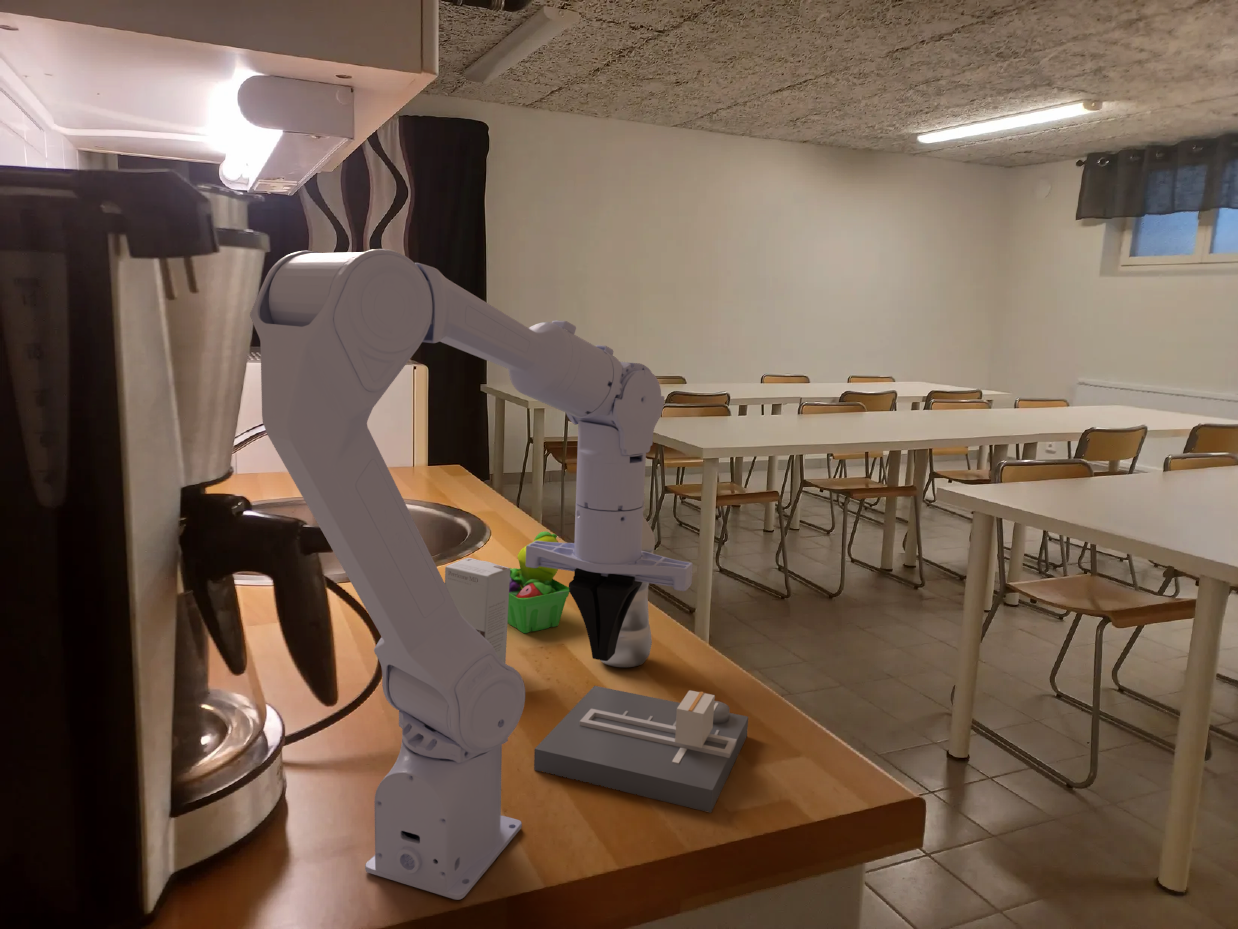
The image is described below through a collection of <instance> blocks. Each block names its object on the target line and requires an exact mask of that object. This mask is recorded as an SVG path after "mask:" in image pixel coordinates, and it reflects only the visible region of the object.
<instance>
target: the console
mask: <svg viewBox="0 0 1238 929" xmlns="http://www.w3.org/2000/svg"><path fill="white" fill-rule="evenodd" d="M680 703H681V702H678V701H672V700H668V699H663V698H657V697H653V696H652V697H651V696H648V695H643V694H638V693H634V692H633V693H632V692H628V691H624V690H618V689H612V688H608V687H603V686H598V685H594V686H593V687H591V689H590V690H589V691H588V692H587V693H586V694H585V695H584V696H583V697H582V698H580V700H579V701H578V702H577V703H576V704H575V705H574V706H573V708H571V709H570V711H569V712H568V713H567V714H566V715H565V716H564V717H563V718H562V719H561V720H560V722H558V724H557V725H555V727H554V728H553V729H552V730H551V731H550V732H548V734H547V735H546V736H545V737H544V738H543V739H542V740H541V742H540V743H538V745H537V746H536V747H535V748H534V751H533V752H534V755H533V756H534V758H533V759H534V760H533V762H534V764H533V770H534V771H537V772H541V771H543V772H542V773H545V772H546V773H545V774H549V773H551V775H554V774H555V775H554V776H558V777H562V776H563V778H566V777H567V779H570V780H574V779H576V780H575V781H578V780H580V781H579V782H582V781H583V783H586V782H589V783H588V784H591V783H592V784H591V785H595V786H599V785H601V786H600V787H603V786H604V788H607V787H608V789H611V788H612V790H615V789H616V790H615V791H619V790H620V791H621V792H625V793H628V794H631V795H632V794H633V795H636V794H637V795H636V796H641V797H645V798H647V799H648V798H649V799H652V800H657V801H661V802H666V803H669V804H674V805H678V806H682V807H686V808H690V809H695V810H699V811H703V812H707V813H712V812H713V809H714V807H715V805H716V803H717V800H718V798H719V797H720V795H721V792H722V790H723V788H724V787H725V784H726V782H727V780H728V777H729V776H730V772H732V769H733V767H734V764H735V763H736V760H737V758H738V756H739V754H740V752H741V750H742V748H743V746H744V743H745V741H746V739H747V737H748V727H749V716H747V715H742V714H738V713H737V714H736V713H733V712H732V713H731V712H730V707H729V705H727V704H726V703H724V702H723V701H719V700H714V714H713V728H712V730H711V732H710V733H709V735H708V737H707V739H706V741H705V742H704V744H703V746H702V748H699V747H694V746H690V745H685V744H681V743H676V742H675V734H676V716H677V708H678V706H679V705H680Z"/></svg>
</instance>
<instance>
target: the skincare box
mask: <svg viewBox="0 0 1238 929" xmlns="http://www.w3.org/2000/svg"><path fill="white" fill-rule="evenodd" d="M510 568H511V567H507V566H504V565H500V564H496V563H494V562H490V561H488V560H487V561H486V560H480V559H475V558H472V557H465V558H463V559H461V560H458V561H455V562H453V563H450V564H448V565H446V566H445V567H444V583H445V585H446V587H447V589H448V591H449V593H450V595H451V597H452V599H453V601H454V603H455V605H456V607H457V609H458V611H459V613H460V615H461V616H462V617H463V618H464V619H465V620H466V621H467V622H468V623H469V624H470V625H471V626H472V627H474V628H475V629H476V630H477V631H478V632H479V633H480V634H481V635H482V636H483V637H484V638H485V639H486V640H487V641H488V642H489V643H490V644H491V645H492V646H493V647H494V650H495V652H496V654H497V656H498V657H499V659H500V660H501V661H502V662H503V663H505V664H507V663H506V661H507V660H506V658H507V642H508V640H507V638H508V601H509V582H510Z"/></svg>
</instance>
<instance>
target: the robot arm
mask: <svg viewBox="0 0 1238 929" xmlns="http://www.w3.org/2000/svg"><path fill="white" fill-rule="evenodd" d="M249 316H250V320H251V322H252V324H253V326H254V328H255V331H256V333H257V335H258V338H259V341H260V383H261V384H260V385H261V387H260V388H261V390H260V391H261V419H262V423H263V426H264V429H265V432H266V434H267V436H268V438H269V440H270V442H271V443H272V446H273V447H274V449H275V451H276V452H277V454H278V457H279V458H280V459H281V461H282V463H283V464H284V466H285V468H286V470H287V472H288V474H289V476H290V477H291V479H292V481H293V483H294V484H295V486H296V488H297V489H298V491H299V493H300V495H301V497H302V498H303V501H305V504H306V505H307V507H308V509H309V511H310V513H311V514H312V516H313V518H314V519H315V522H316V523H317V525H318V527H319V528H320V531H321V532H322V533H323V535H324V537H325V538H326V541H327V542H328V545H329V546H330V548H331V550H332V551H333V553H334V555H335V557H336V558H337V561H338V562H339V565H341V567H342V570H343V571H344V572H345V574H346V576H347V577H348V579H349V580H348V581H350V583H351V585H352V586H353V589H354V591H355V592H356V593H357V595H358V597H359V599H360V601H361V603H362V604H363V606H364V608H365V610H366V611H367V613H368V615H369V617H370V619H371V620H372V623H373V624H374V626H375V628H376V629H377V631H378V633H379V635H380V636H381V637H380V639H379V640H378V641H377V644H376V645H375V647H374V648H373V652H374V654H375V656H376V657H377V660H378V661H379V664H380V666H381V668H380V669H381V676H382V677H381V678H382V680H381V682H382V692H383V695H384V697H385V699H386V701H387V702H388V704H389V705H390V706H391V707H393V708H394V709H395V710H397V711H398V726H399V727H400V729H401V730H402V732H401V744H400V751H399V754H398V755H397V759H396V761H395V763H394V764H393V765H392V767H391V769H390V770H389V772H387V774H386V775H385V776H384V777H383V779H382V780H381V781H380V782H379V784H378V786H377V788H376V790H375V795H374V855H373V856H372V857H370V859H369V860H367V862H366V863H365V864H364V865H365V866H364V870H365V872H366V873H368V874H371V875H375V876H378V877H381V878H385V879H387V880H391V881H394V882H398V883H400V884H403V885H407V886H410V887H412V888H413V887H414V888H416V889H420V890H423V891H426V892H428V893H429V892H430V893H433V894H436V895H439V896H443V897H445V898H449V899H452V900H456V901H457V900H462V899H463V898H465V897H466V896H467V895H468V893H469V892H470V890H472V888H473V887H474V886H475V885H476V884H477V882H478V881H479V880H480V879H481V877H482V876H483V875H484V874H485V873H486V872H487V870H488V869H489V868H490V867H491V866H492V864H493V863H494V862H495V861H496V860H497V858H498V857H499V856H500V854H501V853H502V852H503V851H504V849H505V848H507V846H508V845H509V844H510V842H511V841H512V840H513V839H514V837H516V835H517V834H518V832H520V830H522V825H523V824H522V821H521V820H519V819H516V818H513V817H510V816H505V815H503V814H502V813H501V812H502V766H503V765H502V764H503V763H502V758H503V757H502V755H503V754H502V751H503V748H502V747H503V744H506V743H507V742H508V741H509V737H510V736H511V735H512V734H513V732H514V730H515V729H516V727H517V726H518V724H519V721H520V720H521V717H522V715H523V711H524V707H525V703H526V702H525V701H526V687H525V682H524V679H523V678H522V676H521V674H520V673H519V671H518V670H516V669H515V667H512V666H511V665H509V664H507V663H503V662H502V661H501V660H500V659H499V657H498V656H497V654H496V652H495V650H494V647H493V646H492V645H491V644H490V643H489V642H488V641H487V640H486V639H485V638H484V637H483V636H482V635H481V634H480V633H479V632H478V631H477V630H476V629H475V628H474V627H472V626H471V625H470V624H469V623H468V622H467V621H466V620H465V619H464V618H463V617H462V616H461V615H460V613H459V611H458V609H457V607H456V605H455V603H454V601H453V599H452V597H451V595H450V593H449V591H448V589H447V587H446V585H445V580H444V579H443V577H442V575H441V572H440V571H439V568H438V567H437V565H436V563H435V560H434V559H433V557H432V554H431V552H430V550H429V548H428V546H427V544H426V543H425V541H424V539H423V537H422V535H421V532H420V530H419V529H418V527H417V524H416V523H415V520H414V519H413V516H412V514H411V512H410V510H409V508H408V506H407V505H406V502H405V500H404V498H403V496H402V493H401V492H400V490H399V488H398V486H397V484H396V482H395V480H394V478H393V475H392V473H391V471H390V470H389V468H388V466H387V463H386V462H385V459H384V457H383V456H382V453H381V451H380V450H379V447H378V445H377V444H376V442H375V439H374V436H372V433H371V431H370V429H369V427H368V420H369V418H370V415H371V413H372V411H373V408H374V407H375V406H376V405H377V404H378V402H379V401H380V399H382V397H383V395H384V394H385V393H386V391H387V390H388V388H389V387H390V386H391V385H392V384H393V382H394V381H395V380H396V378H397V377H398V376H399V374H400V373H401V372H402V370H403V369H404V368H405V366H406V365H407V364H408V362H409V361H410V359H412V357H413V356H414V354H415V353H416V352H417V350H418V349H419V347H420V346H421V344H422V343H428V344H436V343H439V342H440V343H442V344H445V345H448V346H450V347H452V348H455V349H457V350H460V351H462V352H465V353H468V354H469V355H473V356H475V357H476V358H477V357H478V358H480V359H481V360H485V361H487V362H490V363H493V364H495V365H498V366H500V367H501V368H502V367H503V368H505V369H507V370H508V377H509V380H510V382H511V385H512V387H514V389H515V390H516V391H518V393H520V394H522V395H524V396H527V397H529V398H531V399H534V400H536V401H538V402H541V403H543V404H545V405H547V406H550V407H552V408H554V409H556V410H558V411H560V412H563V413H565V414H566V416H567V418H568V419H569V421H570V422H571V423H572V424H574V425H577V426H578V427H577V452H576V453H577V458H576V487H575V490H576V491H575V513H574V516H575V520H574V542H559V541H558V542H544V541H534V540H533V541H534V542H533V541H532V542H530V543H531V544H530V543H528V544H529V545H528V544H527V546H526V545H525V546H526V567H531V568H538V567H539V566H542V567H548V568H555V569H558V570H561V571H568V572H574V574H573V577H572V578H573V579H572V580H571V581H570V582H569V583H568V587H569V594H570V595H571V596H572V599H573V600H574V602H575V604H576V606H577V608H578V611H579V613H580V615H581V618H582V620H583V622H584V625H585V629H586V633H587V637H588V641H589V645H590V651H591V656H592V657H591V658H592V659H593V660H599V661H600V660H602V661H608V660H609V659H610V658H611V657H612V656H613V655H614V654H615V650H616V645H617V640H618V637H619V633H620V630H621V627H622V624H623V621H624V619H625V616H626V614H627V611H628V609H629V607H630V605H631V603H632V601H633V599H634V597H635V595H636V593H637V592H638V590H639V588H640V586H641V585H642V582H645V583H649V584H652V585H653V584H654V585H659V586H666V587H672V588H673V590H675V591H678V592H679V591H681V592H686V591H687V590H688V589H689V588H690V587H691V586H692V582H693V581H692V580H693V568H694V566H693V565H694V564H693V562H691V561H690V562H689V561H684V560H683V561H682V560H679V559H674V558H670V557H667V556H662V555H659V554H656V553H653V554H652V553H648V552H645V551H641V548H642V526H643V517H644V511H643V505H644V493H645V482H646V481H645V479H646V460H647V454H648V453H649V452H650V451H651V446H653V443H654V442H653V441H654V439H653V438H654V431H655V429H656V428H655V427H656V425H657V423H658V422H659V420H660V417H661V416H662V412H663V410H664V403H665V396H664V395H662V389H661V385H660V382H659V380H658V378H657V377H656V375H655V373H653V372H652V371H651V369H650V368H649V367H648V366H646V365H645V364H642V363H638V362H628V361H627V362H626V361H621V360H619V359H618V358H617V357H615V356H614V350H613V349H612V348H611V347H609V346H607V345H602V344H597V345H594V344H593V343H591V342H589V341H587V340H585V339H583V338H582V337H580V336H578V335H576V334H575V333H576V330H577V327H576V325H574V324H573V323H570V322H569V321H567V320H552V321H551V322H550V321H544V322H538V323H536V324H534V325H531V326H529V327H527V326H526V325H524V324H523V323H521V322H519V321H518V320H516V319H514V318H513V317H511V316H510V315H508V314H506V313H504V312H503V311H502V310H499V309H498V308H496V307H495V306H493V305H491V304H489V303H488V302H486V301H485V300H483V299H481V298H479V297H478V296H477V295H474V294H473V293H471V292H470V291H468V290H466V289H464V288H463V287H461V286H460V285H458V284H456V283H454V282H453V281H452V280H449V278H447V277H446V276H444V275H443V273H442V272H441V271H440V270H439V269H438V268H435V267H434V266H430V265H427V264H424V263H420V262H414V261H413V260H412V259H411V258H409V257H408V256H406V255H405V254H402V253H401V252H399V251H396V250H392V249H387V248H376V249H369V250H366V251H361V252H360V251H359V252H323V253H322V252H320V251H312V250H311V251H310V250H301V251H300V250H299V251H295V252H292V253H290V254H286V255H285V256H284V257H282V258H280V259H278V261H277V262H275V263H274V265H273V266H272V267H271V268H270V269H269V271H268V272H267V275H266V276H265V278H264V281H263V282H262V285H261V287H260V290H259V292H258V294H257V297H256V299H255V301H254V303H253V305H252V308H251V310H250V313H249ZM501 814H502V815H501Z"/></svg>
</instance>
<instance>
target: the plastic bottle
mask: <svg viewBox="0 0 1238 929" xmlns="http://www.w3.org/2000/svg"><path fill="white" fill-rule="evenodd" d="M645 501H646V493H645V492H644V505H643V512H645V511H646V505H645V504H646V502H645ZM655 545H656V538H655V535H654V531H653V530H652V528H651V525H650V524H649V522H648V520H647V519H646V518H645V517H644V516H643V526H642V548H641V551H645V552H648V553H652V554H655V553H654V552H655V551H654V550H655ZM649 585H650V583H645V582H642V585H641V586H640V588H639V590H638V592H637V593H636V595H635V597H634V599H633V601H632V603H631V605H630V607H629V609H628V611H627V614H626V616H625V619H624V621H623V624H622V627H621V630H620V633H619V637H618V640H617V645H616V650H615V654H614V655H613V656H612V657H611V658H610V659H609V660H608V661H602V660H599V661H600V662H602V663H603V664H604V665H608V666H611V667H615V668H633V667H637V666H640V665H643V664H644V663H645V662H646V660H647V659H648V658H649V656H650V654H651V653H650V652H651V649H652V643H653V640H652V631H651V626H650V620H649V618H650V617H649V616H650V615H649V600H648V599H649Z"/></svg>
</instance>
